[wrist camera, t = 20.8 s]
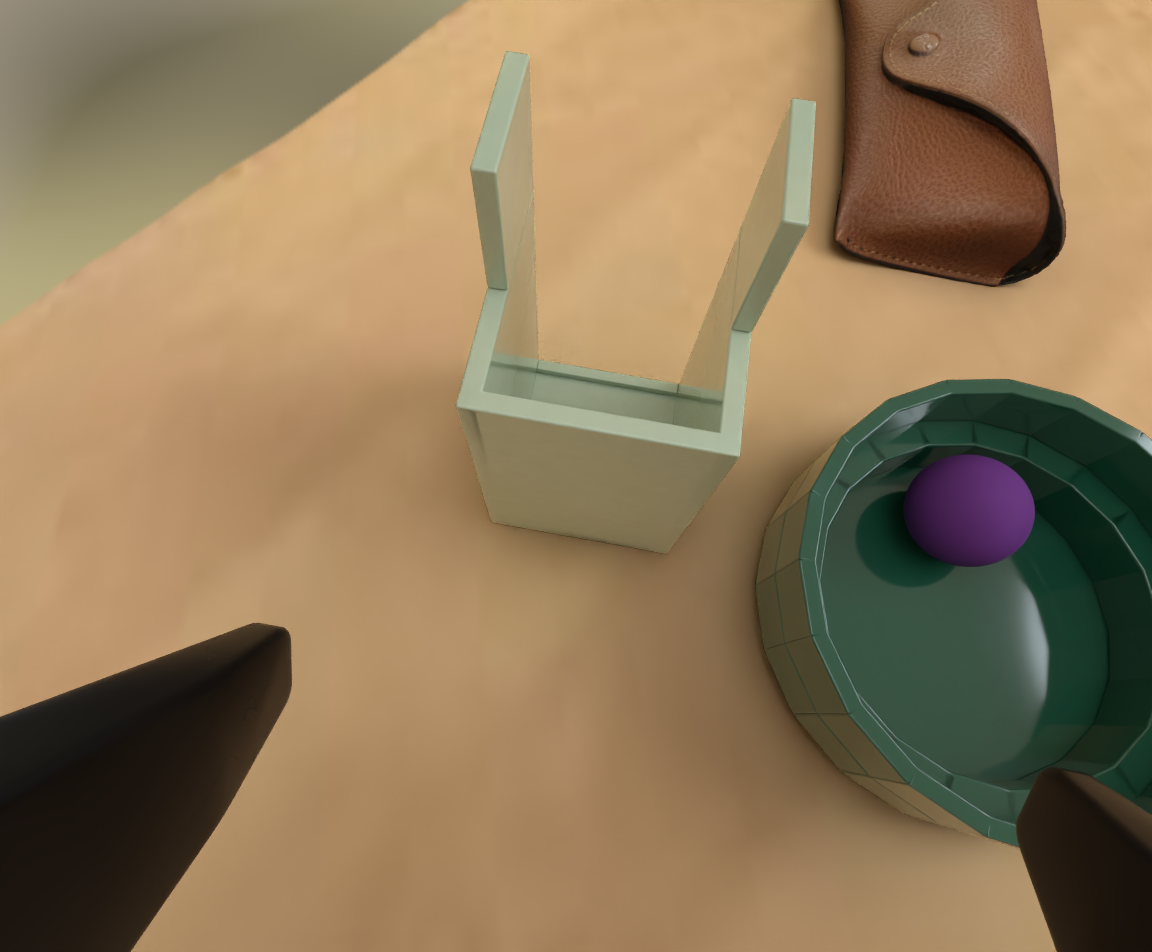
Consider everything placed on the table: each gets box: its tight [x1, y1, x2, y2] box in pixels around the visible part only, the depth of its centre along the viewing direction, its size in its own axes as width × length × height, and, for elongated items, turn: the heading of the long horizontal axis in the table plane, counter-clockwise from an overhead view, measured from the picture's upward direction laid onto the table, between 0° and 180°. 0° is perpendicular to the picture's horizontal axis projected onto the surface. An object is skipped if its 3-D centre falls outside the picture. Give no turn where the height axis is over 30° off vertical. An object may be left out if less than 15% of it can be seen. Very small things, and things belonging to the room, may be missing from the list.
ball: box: [903, 454, 1035, 567], centre depth 21 cm, size 4×4×4 cm
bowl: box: [756, 379, 1152, 849], centre depth 20 cm, size 13×13×4 cm
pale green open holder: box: [456, 51, 816, 554], centre depth 17 cm, size 6×6×12 cm
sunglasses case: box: [834, 0, 1066, 287], centre depth 28 cm, size 18×7×7 cm
